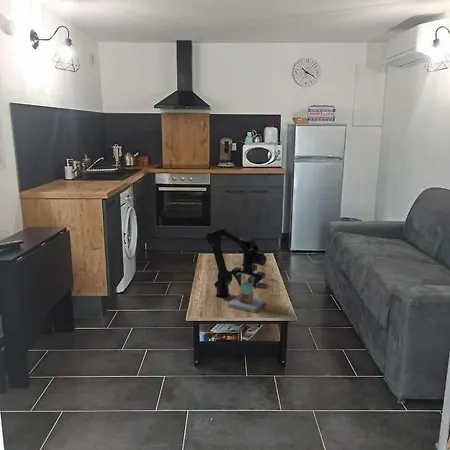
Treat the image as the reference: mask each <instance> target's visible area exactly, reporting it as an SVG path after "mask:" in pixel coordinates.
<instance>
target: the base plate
mask: <svg viewBox="0 0 450 450" xmlns="http://www.w3.org/2000/svg"><path fill="white" fill-rule="evenodd" d="M264 304H265V299H263V298H259V297H258V298H257V297H254V296H253V301H252V302H251V303H250V304H246V303H241V302H240V294H238V295H237V296H235V297H234V298H233V299H231V300H230V301H229V302H228V304H227V305H228V306H227V307H229V308H231V309H232V308H233V309H236V310H240V311H241V310H243V311H246V312H251V313H256V312H257V311H258V310H259V309H260V307H262V306H263V305H264Z"/></svg>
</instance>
